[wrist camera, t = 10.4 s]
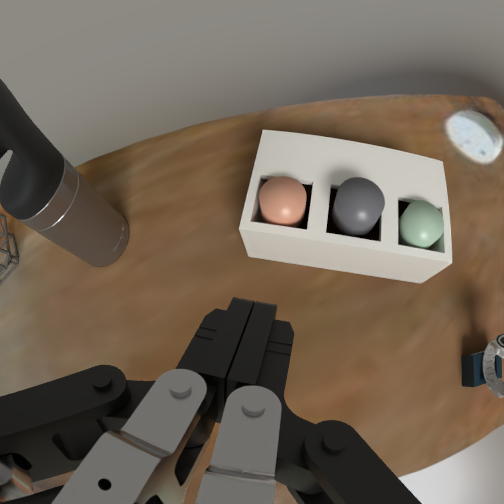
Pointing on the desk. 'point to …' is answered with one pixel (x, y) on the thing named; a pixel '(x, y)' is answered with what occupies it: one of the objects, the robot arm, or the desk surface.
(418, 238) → the sage button
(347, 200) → the charcoal button
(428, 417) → the desk surface
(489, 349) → the watch
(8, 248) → the geometric lantern
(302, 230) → the button console
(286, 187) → the terracotta button
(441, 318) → the desk surface
